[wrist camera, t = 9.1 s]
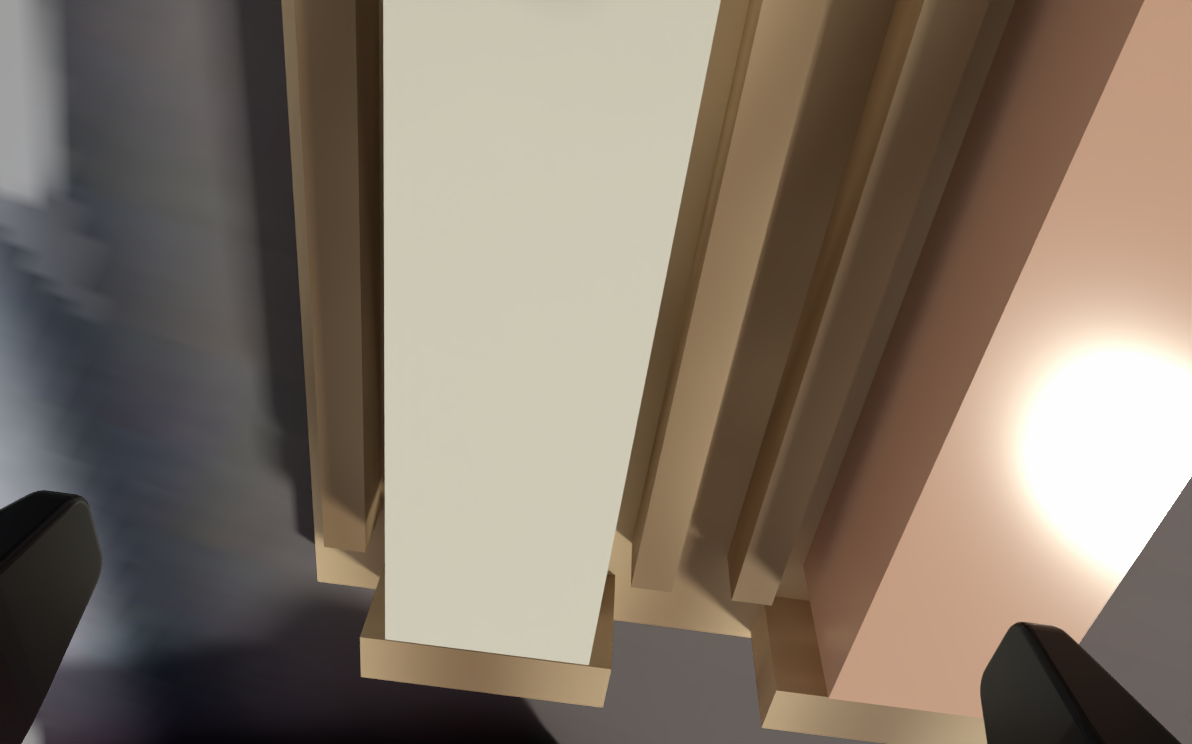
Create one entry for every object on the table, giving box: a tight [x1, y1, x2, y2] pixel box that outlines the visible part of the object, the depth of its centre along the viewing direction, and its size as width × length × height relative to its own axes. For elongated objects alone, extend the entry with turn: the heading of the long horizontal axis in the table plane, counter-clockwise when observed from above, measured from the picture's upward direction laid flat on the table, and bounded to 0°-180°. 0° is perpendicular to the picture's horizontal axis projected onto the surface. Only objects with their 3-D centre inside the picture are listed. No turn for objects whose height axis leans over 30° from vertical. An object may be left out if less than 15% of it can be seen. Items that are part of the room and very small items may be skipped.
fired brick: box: [803, 0, 1192, 718], centre depth 17 cm, size 4×16×4 cm, turn 172°
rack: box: [281, 0, 1016, 744], centre depth 18 cm, size 20×22×4 cm
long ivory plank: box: [383, 0, 721, 665], centre depth 17 cm, size 4×16×4 cm, turn 172°
